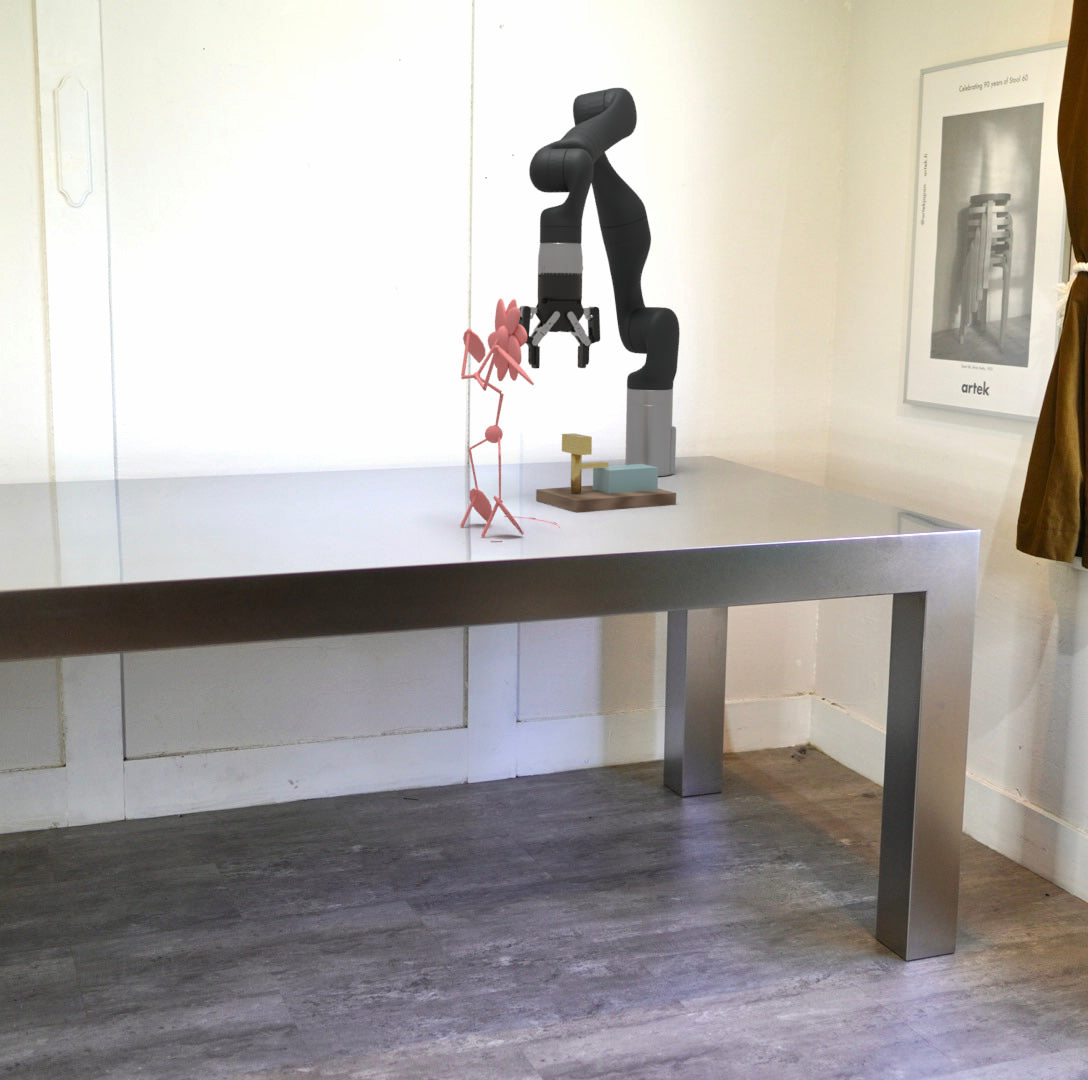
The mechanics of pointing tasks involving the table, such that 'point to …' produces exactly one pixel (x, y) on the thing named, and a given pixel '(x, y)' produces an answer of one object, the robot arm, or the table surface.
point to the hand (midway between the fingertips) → (558, 368)
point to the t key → (579, 457)
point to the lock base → (603, 499)
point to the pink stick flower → (504, 357)
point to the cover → (625, 478)
